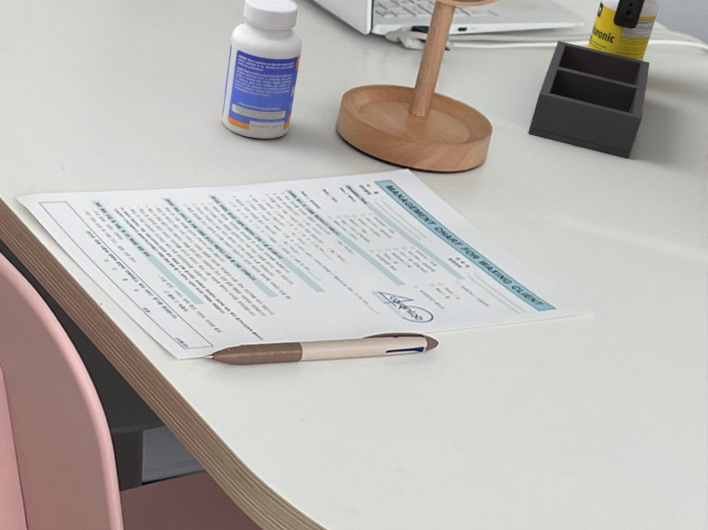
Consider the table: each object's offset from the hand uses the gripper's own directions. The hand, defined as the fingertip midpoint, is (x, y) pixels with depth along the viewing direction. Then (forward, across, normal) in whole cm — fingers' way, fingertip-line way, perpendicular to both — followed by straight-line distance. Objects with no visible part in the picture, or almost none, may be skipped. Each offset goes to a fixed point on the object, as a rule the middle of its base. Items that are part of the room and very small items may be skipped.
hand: (625, 17), depth 124 cm
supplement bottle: (+6, 0, 0) cm, 6 cm away
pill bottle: (+6, -36, +26) cm, 44 cm away
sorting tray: (+6, -14, +1) cm, 15 cm away
